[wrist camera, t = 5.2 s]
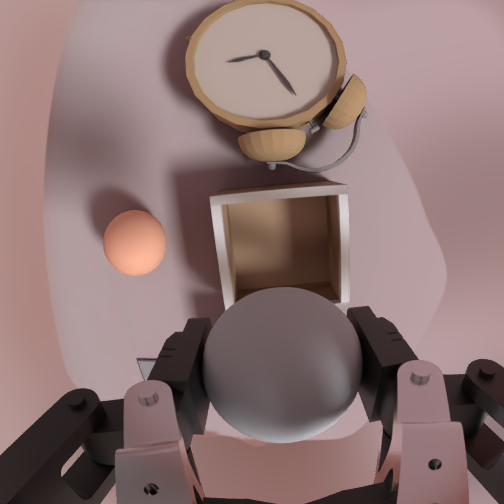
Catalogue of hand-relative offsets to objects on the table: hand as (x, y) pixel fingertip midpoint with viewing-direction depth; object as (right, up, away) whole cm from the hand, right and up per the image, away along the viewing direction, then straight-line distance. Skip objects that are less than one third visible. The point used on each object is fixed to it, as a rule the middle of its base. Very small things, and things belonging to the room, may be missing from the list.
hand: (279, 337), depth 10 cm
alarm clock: (+1, +16, +10) cm, 19 cm away
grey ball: (0, -1, -2) cm, 2 cm away
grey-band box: (+1, +4, +13) cm, 14 cm away
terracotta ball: (-10, +4, +11) cm, 15 cm away
